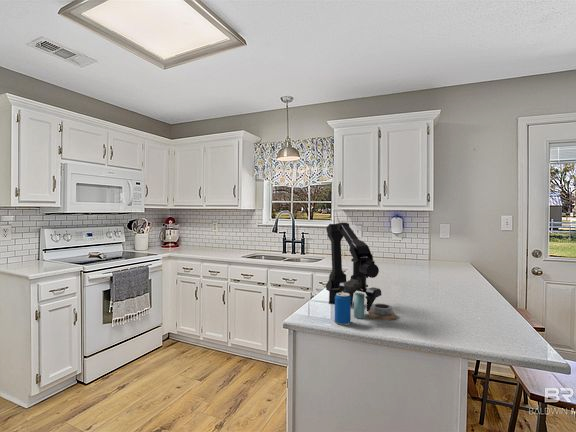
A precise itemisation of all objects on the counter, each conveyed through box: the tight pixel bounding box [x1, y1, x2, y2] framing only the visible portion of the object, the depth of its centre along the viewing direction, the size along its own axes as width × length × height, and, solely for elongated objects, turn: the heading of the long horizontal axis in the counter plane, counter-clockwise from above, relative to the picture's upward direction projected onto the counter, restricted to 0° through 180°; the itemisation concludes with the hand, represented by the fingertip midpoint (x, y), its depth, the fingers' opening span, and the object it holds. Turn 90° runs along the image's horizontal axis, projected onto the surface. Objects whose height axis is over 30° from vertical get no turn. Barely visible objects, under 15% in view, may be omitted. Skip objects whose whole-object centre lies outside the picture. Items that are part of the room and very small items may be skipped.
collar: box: [371, 302, 393, 316], centre depth 145 cm, size 8×8×3 cm
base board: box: [367, 308, 397, 321], centre depth 145 cm, size 11×11×1 cm
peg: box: [353, 292, 366, 320], centre depth 142 cm, size 4×4×10 cm
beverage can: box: [334, 292, 352, 326], centre depth 135 cm, size 6×6×12 cm
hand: (359, 308), depth 142 cm, fingers open, 9 cm apart
